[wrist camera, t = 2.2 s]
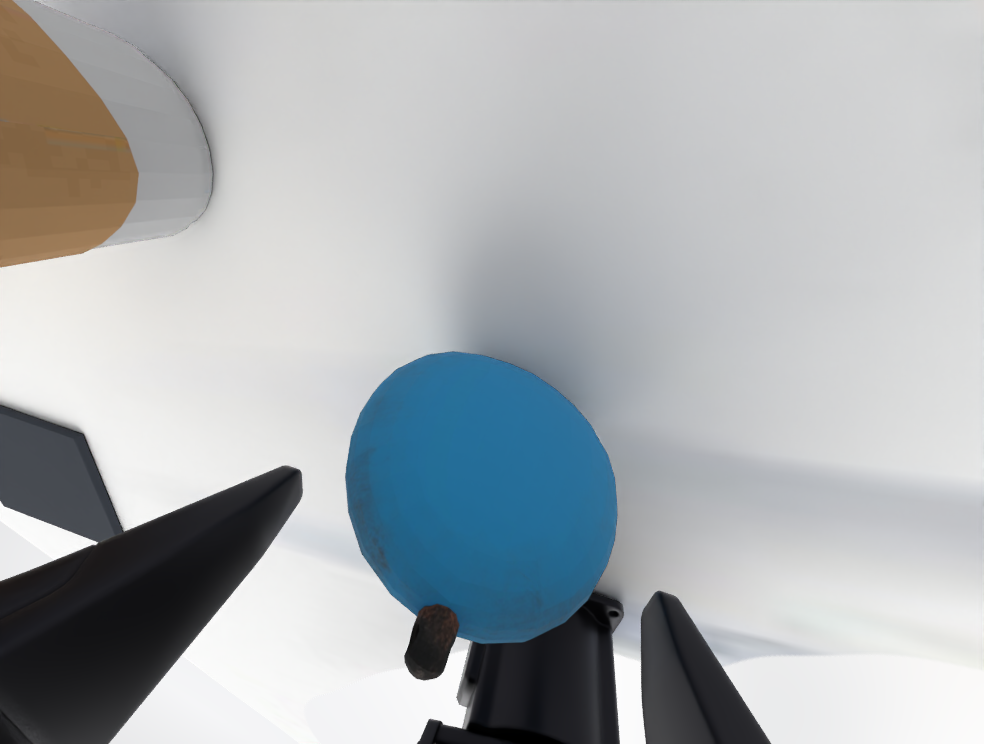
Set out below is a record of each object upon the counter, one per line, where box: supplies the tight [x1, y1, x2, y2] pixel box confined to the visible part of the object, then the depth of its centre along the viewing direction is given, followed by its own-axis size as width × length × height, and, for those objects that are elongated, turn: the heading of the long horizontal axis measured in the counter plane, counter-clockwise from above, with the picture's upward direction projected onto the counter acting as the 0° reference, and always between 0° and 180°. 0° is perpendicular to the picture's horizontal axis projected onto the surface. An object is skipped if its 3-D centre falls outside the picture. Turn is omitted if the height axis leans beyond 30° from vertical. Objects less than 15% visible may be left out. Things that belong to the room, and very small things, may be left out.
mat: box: [0, 406, 123, 542], centre depth 26 cm, size 11×11×1 cm
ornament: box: [345, 352, 617, 680], centre depth 11 cm, size 8×5×10 cm, turn 63°
